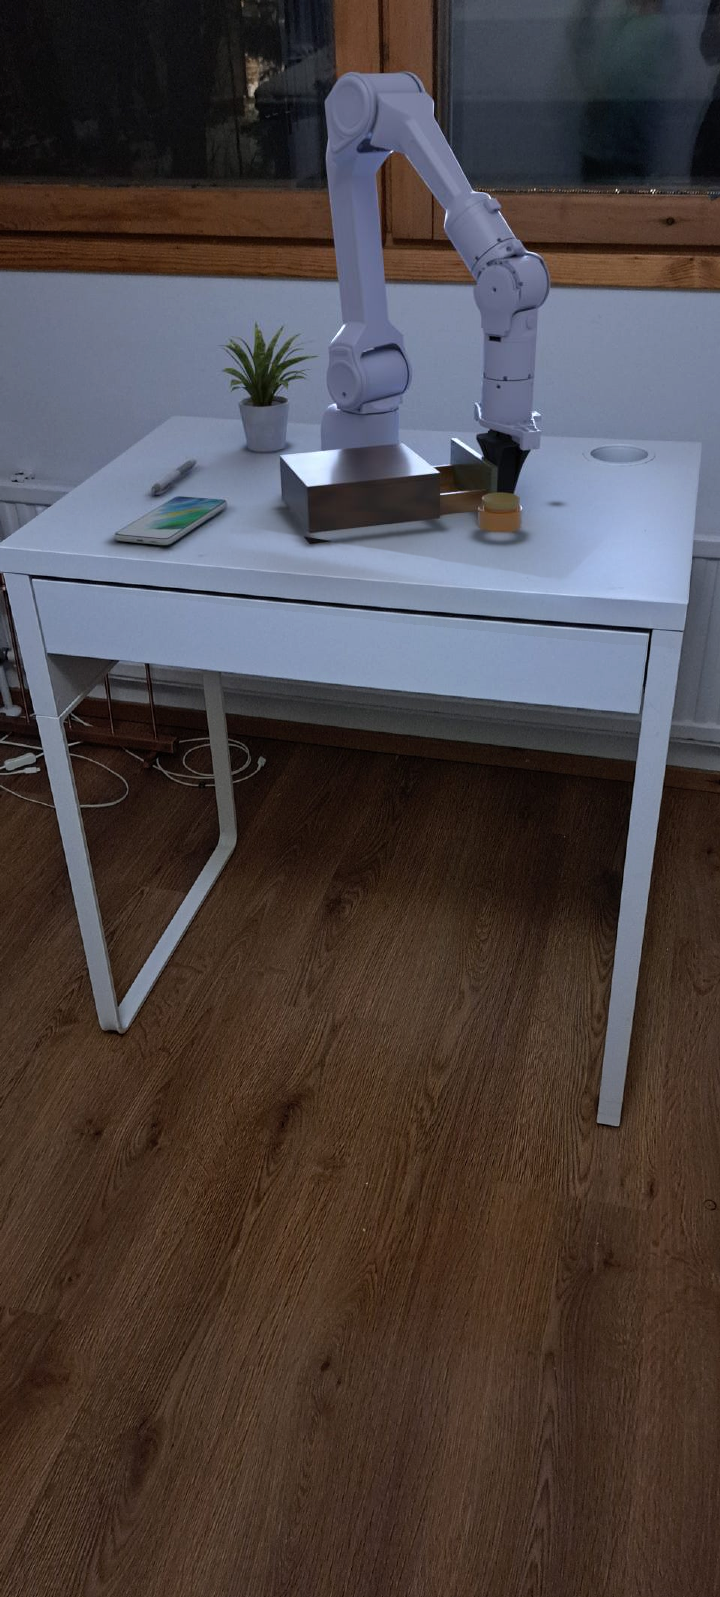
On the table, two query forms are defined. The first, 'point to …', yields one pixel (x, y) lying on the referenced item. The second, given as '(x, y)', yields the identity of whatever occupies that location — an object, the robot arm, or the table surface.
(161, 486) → the pen
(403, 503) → the cabinet
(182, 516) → the smartphone
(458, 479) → the drawer
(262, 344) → the house plant
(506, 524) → the jar
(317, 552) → the table surface
